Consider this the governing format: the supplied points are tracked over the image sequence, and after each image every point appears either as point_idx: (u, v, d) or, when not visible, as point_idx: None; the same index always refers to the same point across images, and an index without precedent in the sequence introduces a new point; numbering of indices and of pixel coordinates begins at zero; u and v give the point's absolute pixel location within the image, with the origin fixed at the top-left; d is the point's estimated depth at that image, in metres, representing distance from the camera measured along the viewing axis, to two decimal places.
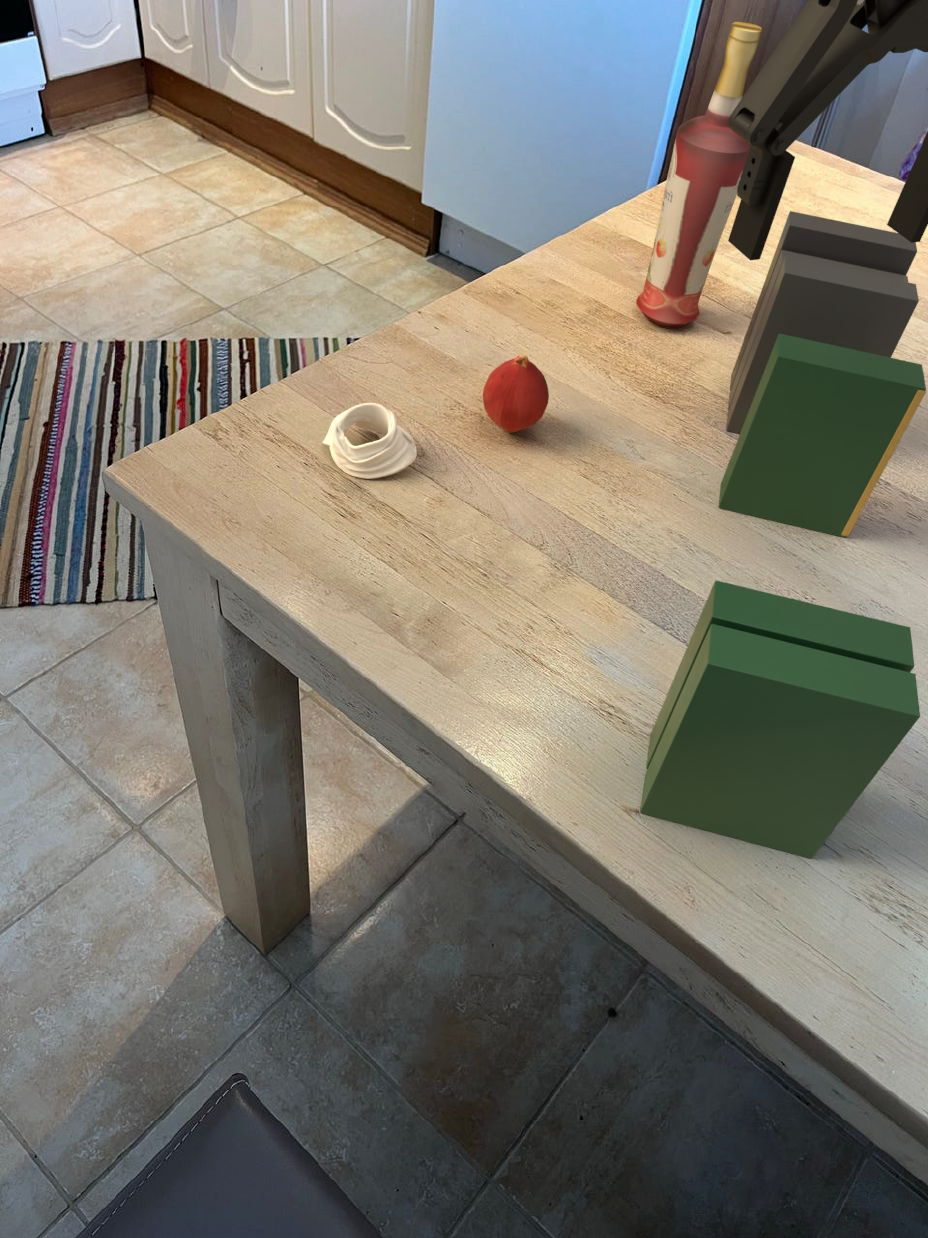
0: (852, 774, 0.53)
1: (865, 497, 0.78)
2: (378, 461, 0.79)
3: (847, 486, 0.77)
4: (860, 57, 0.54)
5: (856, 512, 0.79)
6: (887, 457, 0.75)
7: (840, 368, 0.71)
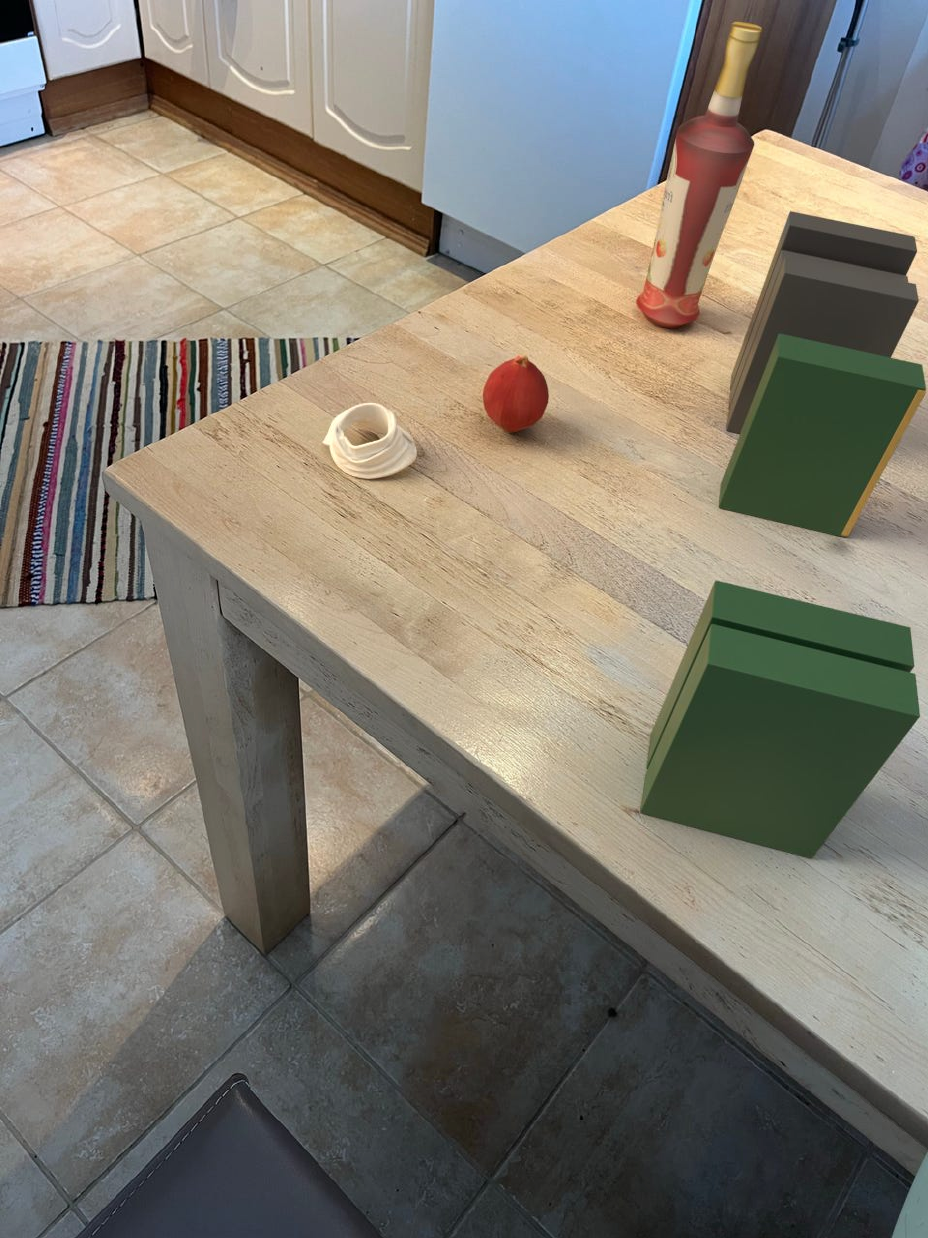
0: (852, 774, 0.53)
1: (865, 497, 0.78)
2: (378, 461, 0.79)
3: (847, 486, 0.77)
4: None
5: (856, 512, 0.79)
6: (887, 457, 0.75)
7: (840, 368, 0.71)
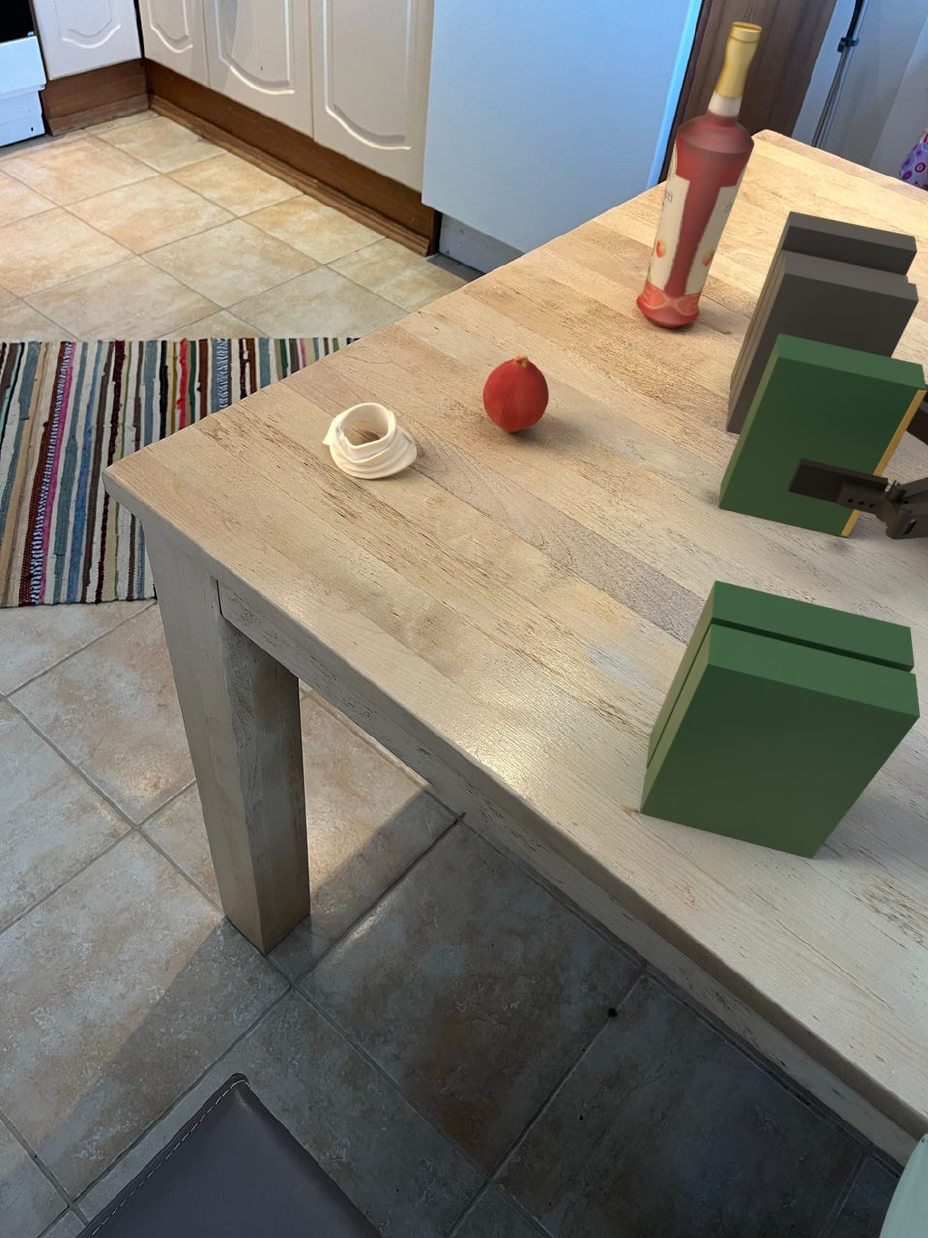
0: (852, 774, 0.53)
1: None
2: (378, 461, 0.79)
3: None
4: None
5: (856, 512, 0.79)
6: (887, 457, 0.75)
7: (840, 368, 0.71)
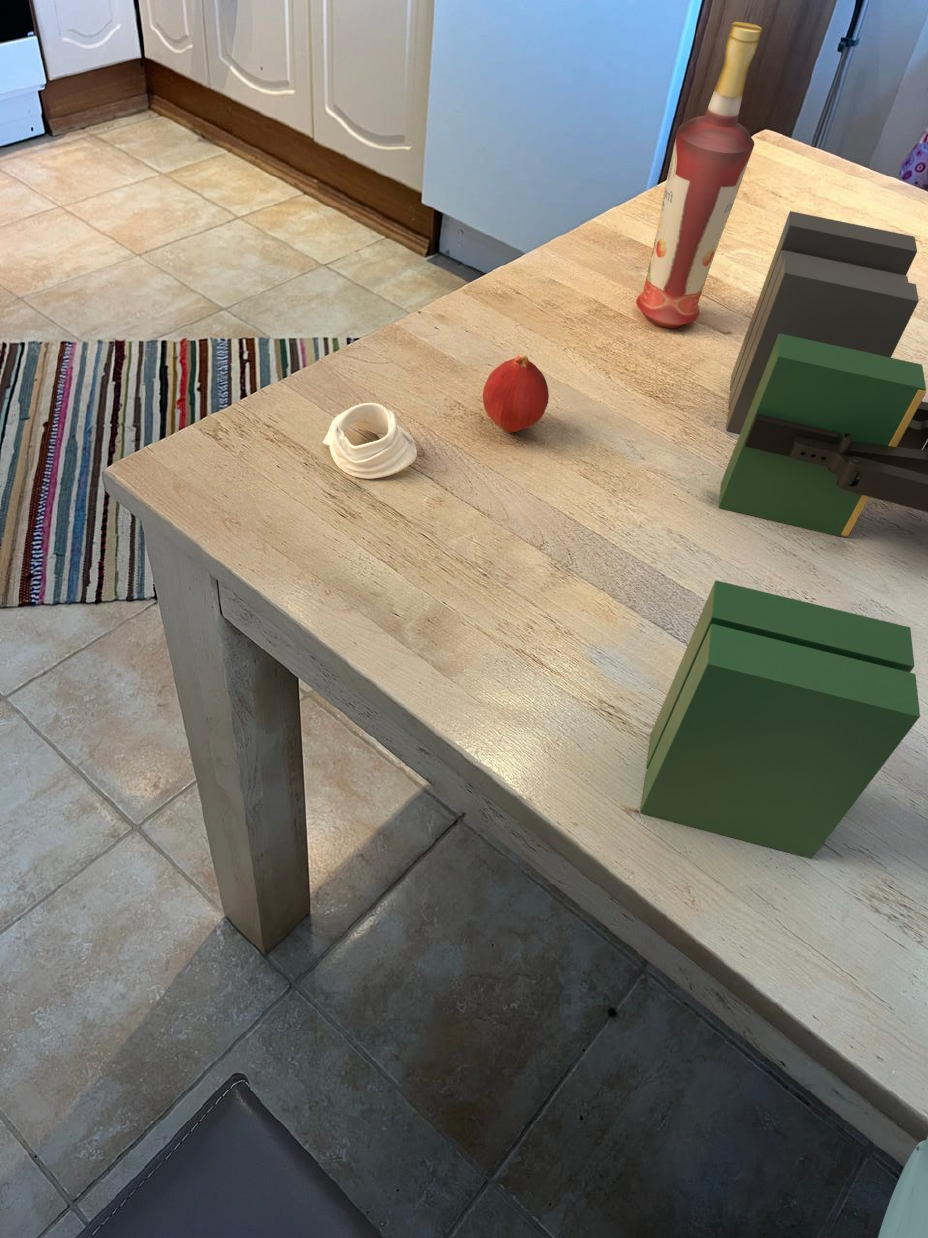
0: (852, 774, 0.53)
1: (865, 497, 0.78)
2: (378, 461, 0.79)
3: None
4: (918, 423, 0.76)
5: (856, 512, 0.79)
6: None
7: (840, 368, 0.71)
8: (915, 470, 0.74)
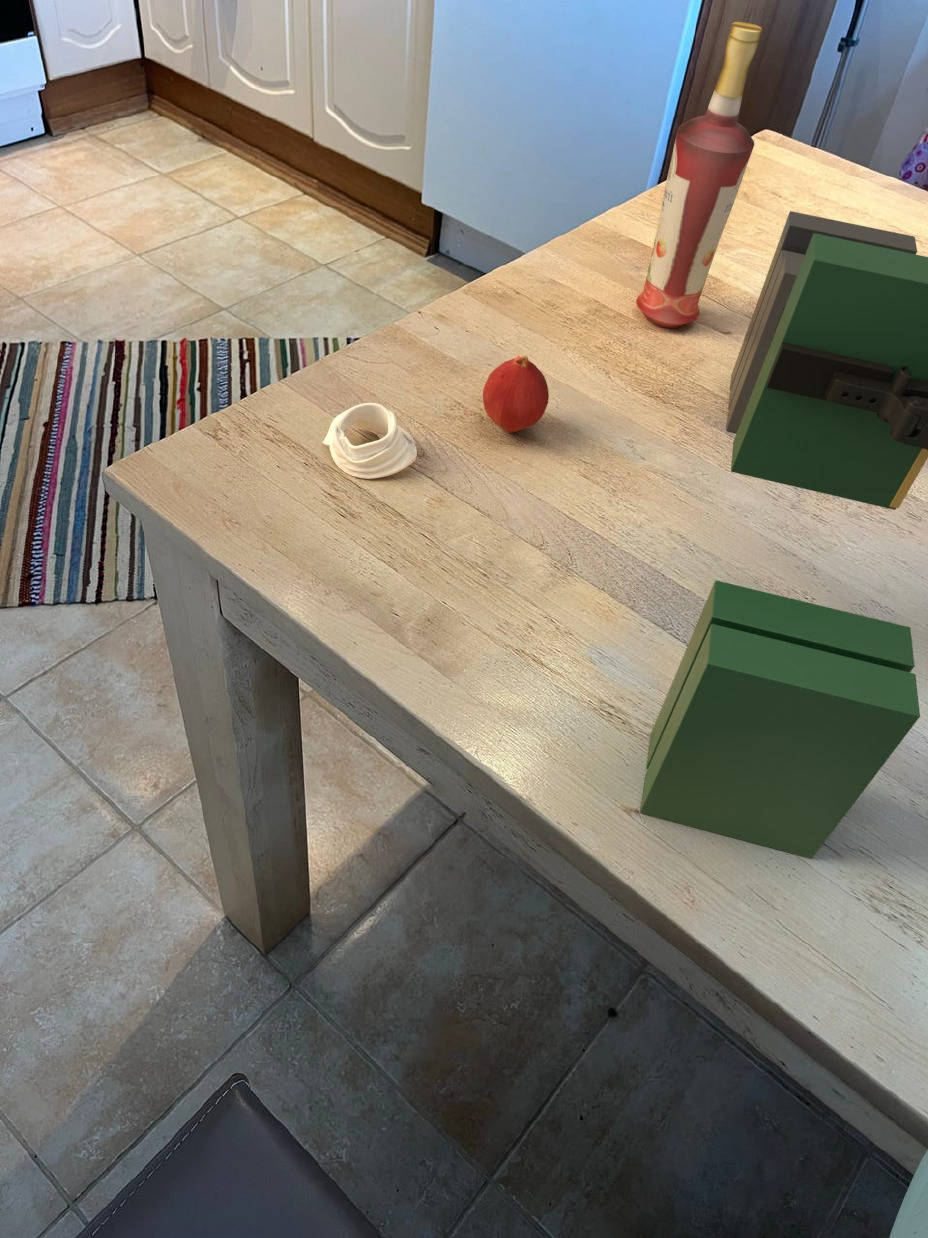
0: (852, 774, 0.53)
1: (924, 455, 0.59)
2: (378, 461, 0.79)
3: None
4: None
5: (911, 476, 0.60)
6: None
7: (898, 275, 0.52)
8: None
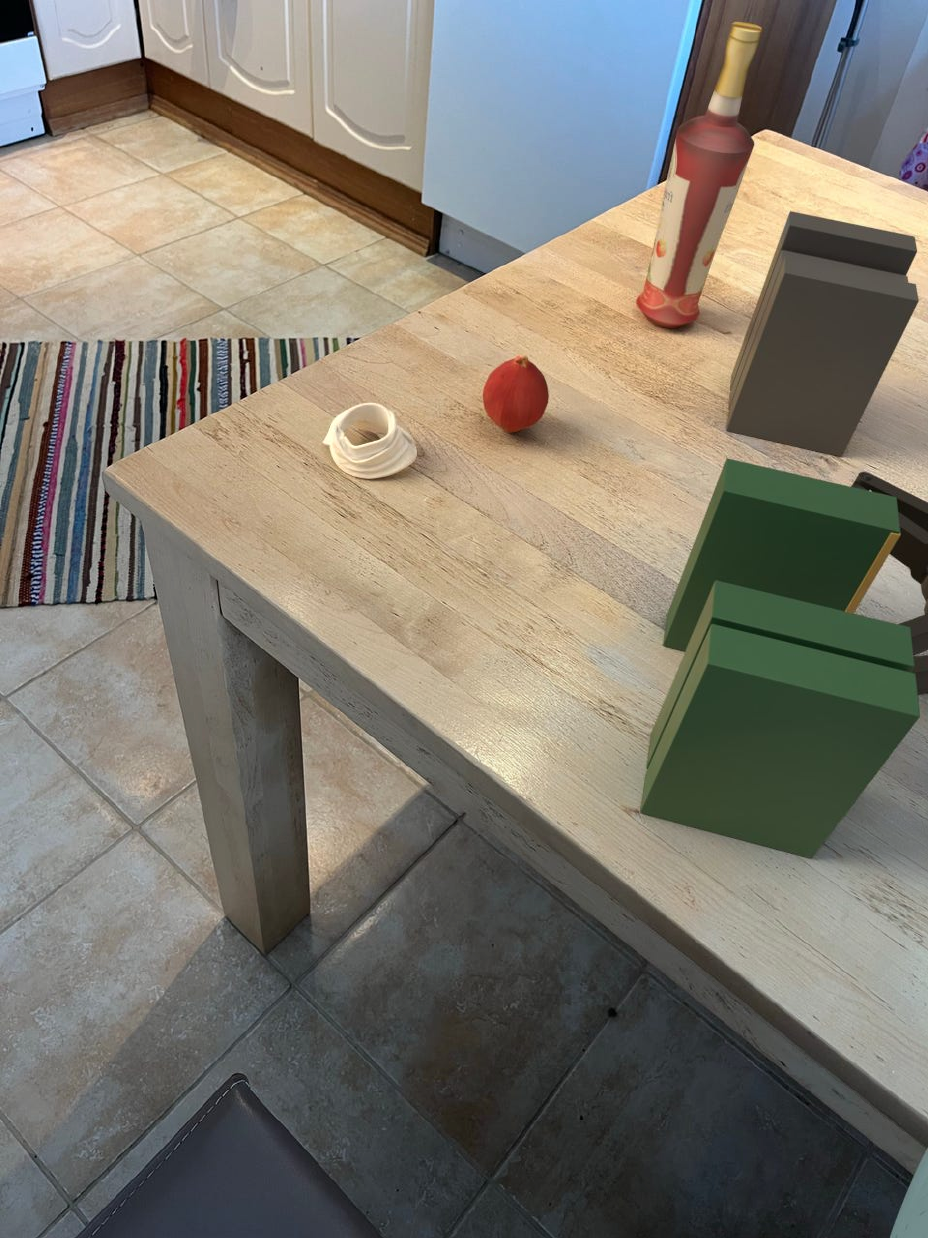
0: (852, 774, 0.53)
1: None
2: (378, 461, 0.79)
3: None
4: None
5: None
6: (856, 602, 0.63)
7: (797, 505, 0.59)
8: None
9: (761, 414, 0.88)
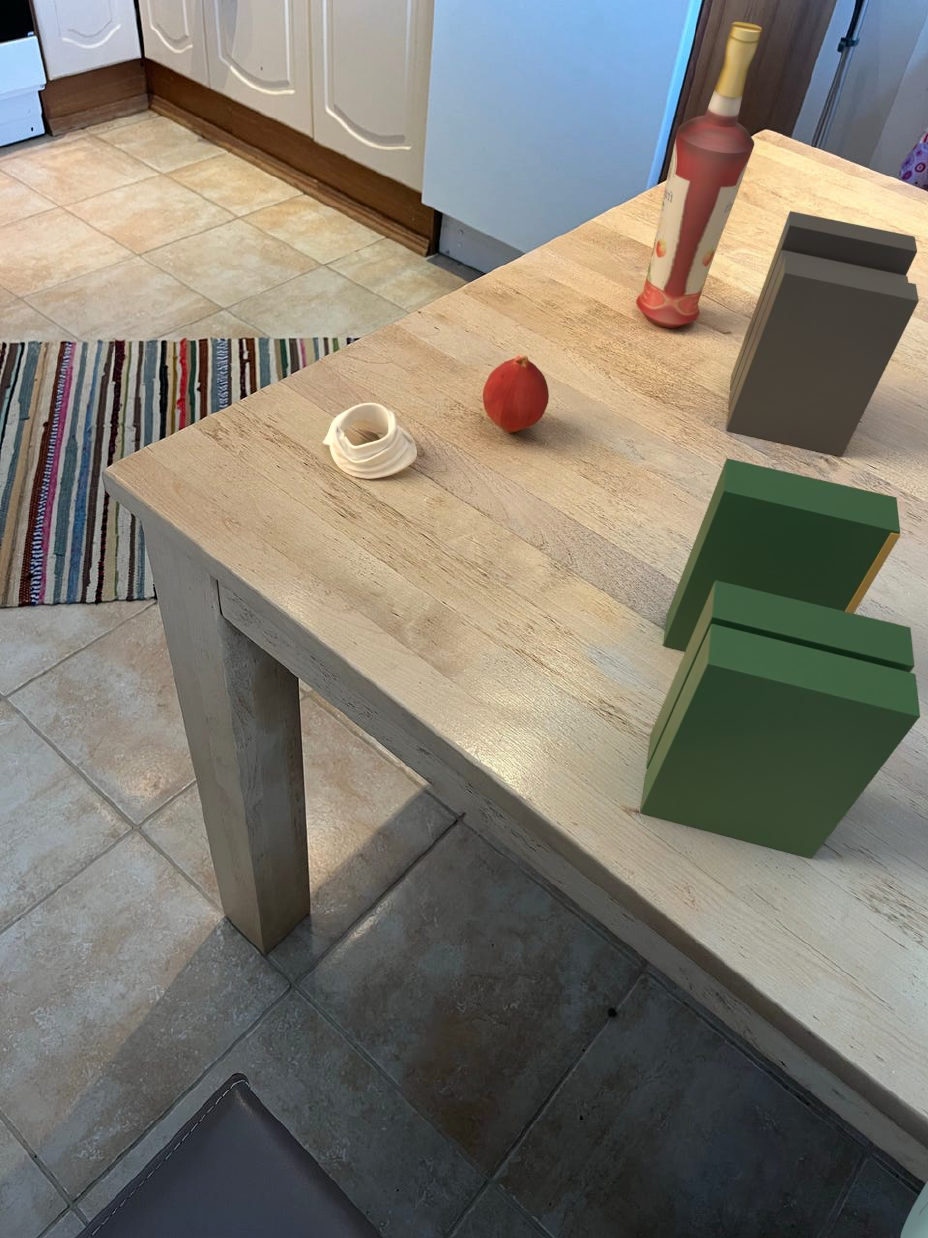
0: (852, 774, 0.53)
1: None
2: (378, 461, 0.79)
3: None
4: None
5: None
6: (856, 602, 0.63)
7: (797, 505, 0.59)
8: None
9: (761, 414, 0.88)
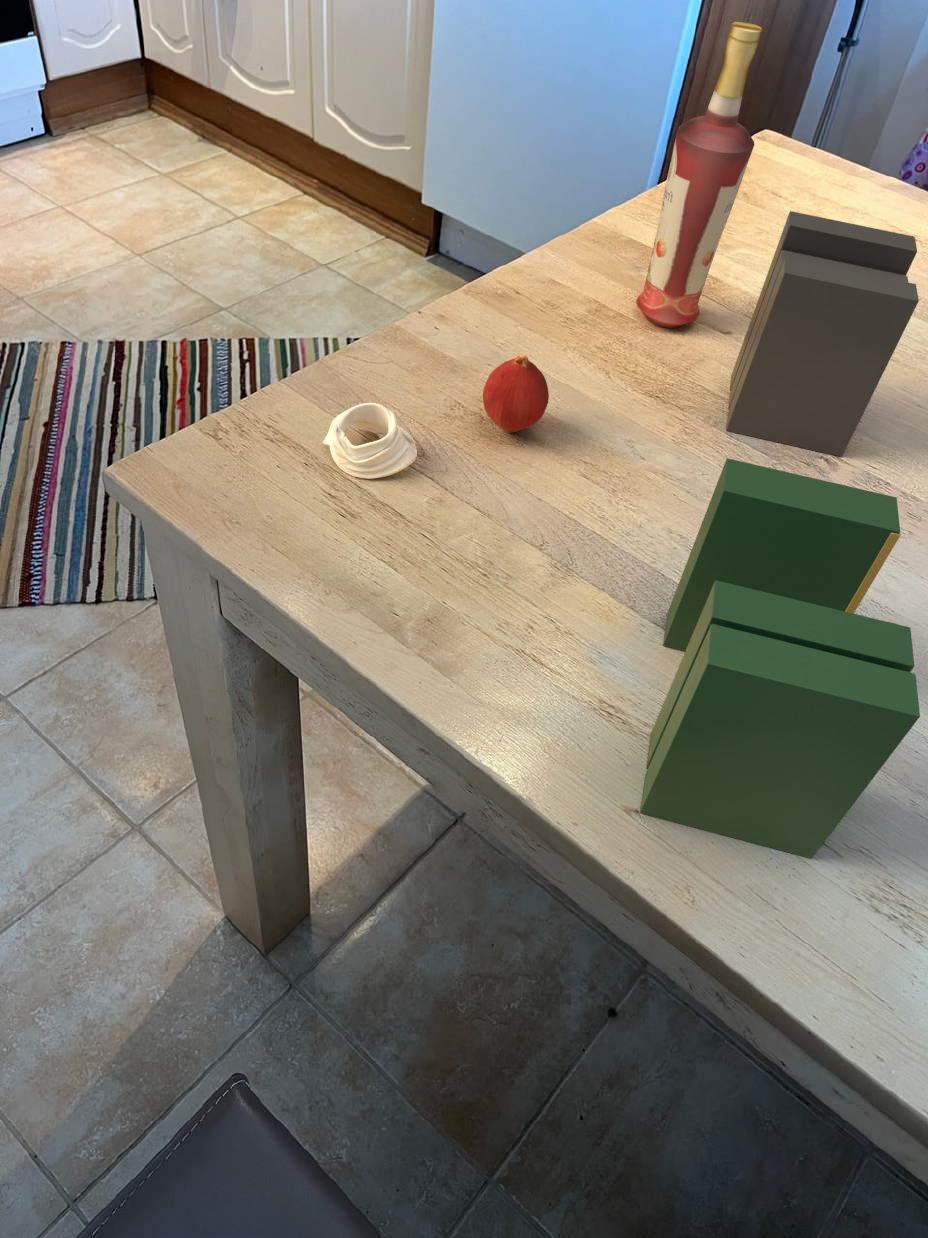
0: (852, 774, 0.53)
1: None
2: (378, 461, 0.79)
3: None
4: None
5: None
6: (856, 602, 0.63)
7: (798, 505, 0.59)
8: None
9: (761, 414, 0.88)
